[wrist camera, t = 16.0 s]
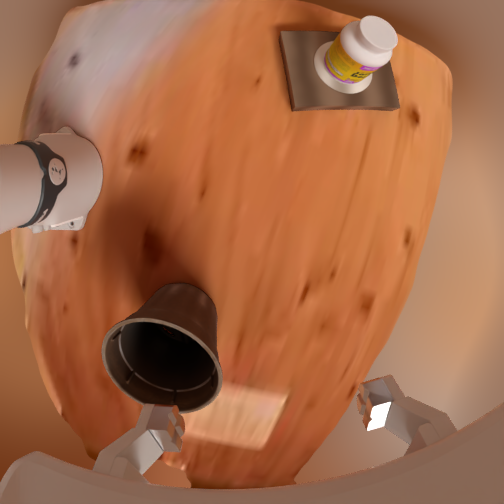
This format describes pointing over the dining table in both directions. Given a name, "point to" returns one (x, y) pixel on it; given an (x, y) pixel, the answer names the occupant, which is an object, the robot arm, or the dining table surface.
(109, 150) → the dining table surface
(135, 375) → the plant pot
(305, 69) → the walnut board
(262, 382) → the dining table surface
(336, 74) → the supplement bottle
